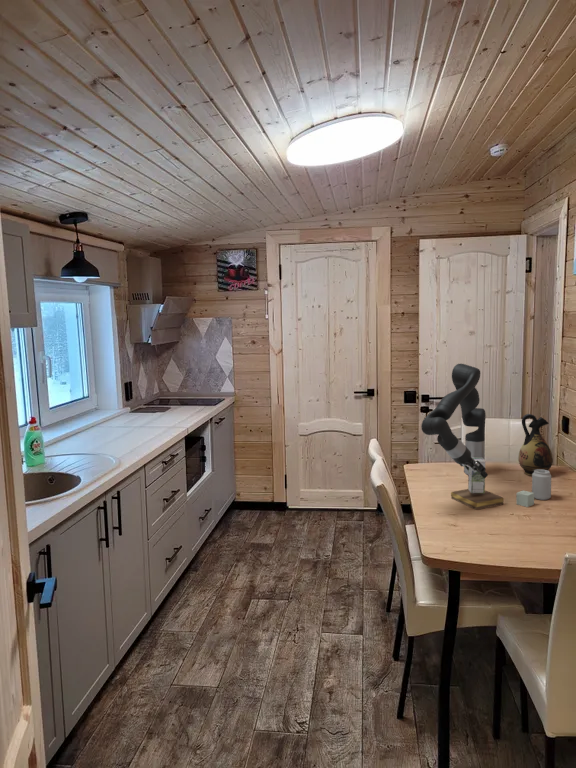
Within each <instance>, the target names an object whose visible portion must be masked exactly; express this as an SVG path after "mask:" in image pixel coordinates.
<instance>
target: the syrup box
mask: <svg viewBox="0 0 576 768" xmlns="http://www.w3.org/2000/svg"><path fill="white" fill-rule="evenodd" d="M473 459H474V460H475V461H479V462H480V463H481V464H482V465H483V466H484V467H485V468H486V461H485V460H486V459H485V460H484V459H483V458H473ZM473 468H475V467H473ZM477 470H478V469H477ZM467 486H468V487H467V489H469V491H470V492H471V493H485V491H486V487H485V486H486V478H483V477H482V476H481V475H480V474H479V473H478V472H477V471H476V470H475V471H474V470H472V469H471V468H470V467H469V472H468V485H467Z"/></svg>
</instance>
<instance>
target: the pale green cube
mask: <svg viewBox="0 0 576 768" xmlns="http://www.w3.org/2000/svg"><path fill="white" fill-rule="evenodd" d="M515 495H516V499H515V501H516V505H517V506H518V505H519V506H522V507H525V508H529V507H531V506H533V505H535V498H534V493H532V491H527V490H524V489H523V490H521V491H517V492H516V494H515Z"/></svg>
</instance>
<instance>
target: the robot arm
mask: <svg viewBox="0 0 576 768" xmlns="http://www.w3.org/2000/svg"><path fill="white" fill-rule="evenodd" d="M451 371H452V372H451V380H452V383H453V386H454V388H455V391H454V390H453V391H452V392H449V393H448V394H446V395H445V396H443V397H442V398H441V399H440V401H439V402H438V404H437V405H436V407H435V408H434V409H433V410H432V411H430V413H428V415H426V416H425V417H424V418H423V421H422V422H421V426H420V427H421V431H422V432H423V434H424V435H428V436H437V438H436V440H437V443H438V444H439V445H440V447H442V449H444V450H445V452H446V454H447V455H448V456H449V457H450V458H451V459H453V461H454V462H455V463H456V464H458V465H459V466H461V467H463V472H464V474H465V475H468V472H469V467H470V468H471V469H472V470H474V471H475V470H476V471H477V472H478V473H479V474H480V475H481V476H482V477H483V478H485V479H486V478H488V472H486V470H487V469H486V466H485V467H484V466H483V465H482V464H481V463H480V462H479V461H475V460H474V459H473V458H483V459H484V460H486V459H485V457H486V454H485V453H486V416H487V415H486V410H485V409H484V408H481V407H480V408H479V407H478V406H479V404H480V401H481V400H480V395H479V391H478V389H477V388H476V386H477V385H478V383H479V381H480V379H481V370H480V369H479V368H478V367H474V366H471V365H468V364H465V363H456V364H455V366H454V367H453V369H452V370H451ZM458 406H460V411H461V418H462V424H463V425H464V426H465V427H470V428H471V427H473V428H477V429H476V430H473V431H471V432H467V433H466V434H465V436H464V437H465V438H464V439H465V441H464V442H465V444H464V442H462V441H461V440H460V439H459V438H458V437H457V436H456V435H455V434H454V433H453V431H452V429H451V427H450V425H449V423H448V420H449V419H450V418H451V417H452V416H453V414H454V413H455V411H456V409H457V408H458ZM477 407H478V408H477ZM473 467H475V468H473ZM477 469H478V470H477Z"/></svg>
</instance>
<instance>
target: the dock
mask: <svg viewBox="0 0 576 768" xmlns="http://www.w3.org/2000/svg"><path fill="white" fill-rule="evenodd" d="M450 496H451V499H452V500H454V501H456V502H458V503H461V504H463V505H465V506H467V507H470V508H472V509H474V510H476V511H477V510H478V511H479V510H481V509H482V510H483V509H487V508H493V507H496V506H501V505H502V506H503V505H504V496H500V495H498V494H496V493H493V492H490V491H488V490H485V493H471V492H470V491H469V489H468V488H466V489H461V490H454V491H451V492H450Z"/></svg>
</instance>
